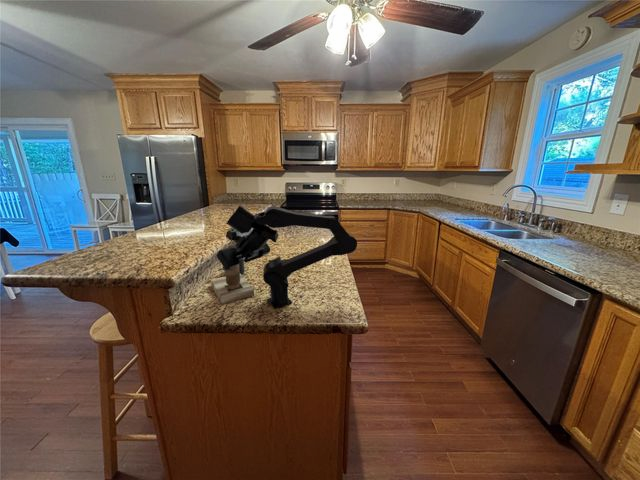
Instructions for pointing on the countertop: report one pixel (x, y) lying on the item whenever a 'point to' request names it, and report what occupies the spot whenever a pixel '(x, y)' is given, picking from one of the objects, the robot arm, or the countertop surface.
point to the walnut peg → (233, 278)
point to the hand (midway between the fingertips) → (234, 265)
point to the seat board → (225, 296)
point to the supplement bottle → (241, 262)
